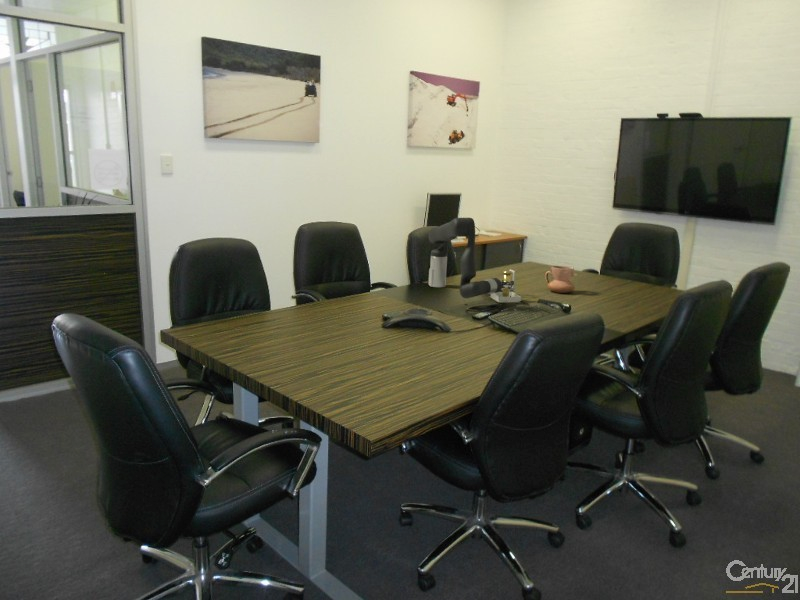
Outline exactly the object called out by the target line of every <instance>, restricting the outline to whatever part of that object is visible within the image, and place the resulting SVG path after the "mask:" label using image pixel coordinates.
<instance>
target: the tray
mask: <svg viewBox="0 0 800 600" xmlns="http://www.w3.org/2000/svg"><path fill="white" fill-rule="evenodd" d="M514 292H515V291H514ZM514 292H510V293H509V297H503V296H502V292H497V293H492V294H490V298H491V299H493V301H495V302H497V303H506V302H505V301H506V300H507V301H508V302H507V303H519V302H518V301H521V302H522V296H521V295H519V294H517V293H516V292H515V293H514ZM510 296H511V297H510Z"/></svg>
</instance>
